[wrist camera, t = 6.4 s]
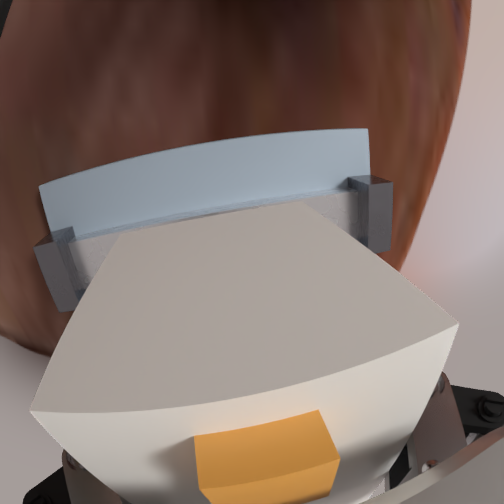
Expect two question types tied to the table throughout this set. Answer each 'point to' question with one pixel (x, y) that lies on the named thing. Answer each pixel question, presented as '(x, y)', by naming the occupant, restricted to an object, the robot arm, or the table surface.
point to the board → (205, 177)
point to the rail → (323, 201)
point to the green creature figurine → (4, 12)
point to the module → (244, 363)
